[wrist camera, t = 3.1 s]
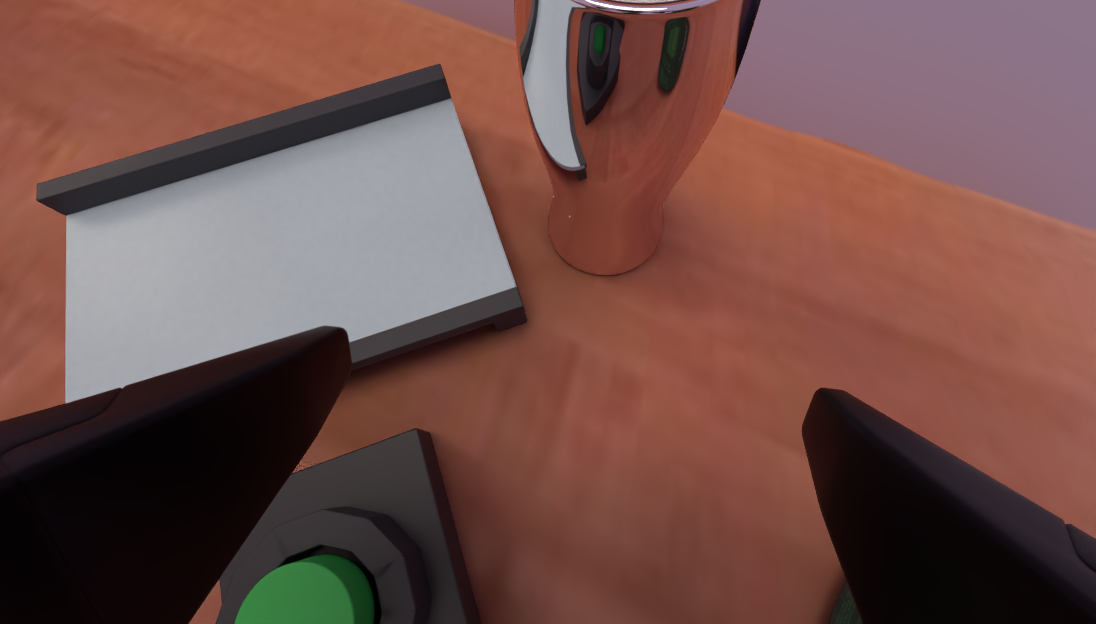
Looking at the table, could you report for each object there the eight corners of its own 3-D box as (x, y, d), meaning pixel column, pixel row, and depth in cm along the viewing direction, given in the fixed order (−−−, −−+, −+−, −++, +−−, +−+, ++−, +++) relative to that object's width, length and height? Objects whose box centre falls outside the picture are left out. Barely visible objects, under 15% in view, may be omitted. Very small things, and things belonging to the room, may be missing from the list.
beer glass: (591, 148, 27) (611, -208, 13) (695, 212, 26) (848, -117, 11) (513, 236, 26) (441, -64, 12) (619, 310, 24) (689, 67, 10)
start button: (387, 658, 16) (366, 678, 15) (273, 703, 16) (239, 729, 14) (362, 537, 18) (340, 543, 16) (256, 577, 17) (223, 587, 16)
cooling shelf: (529, 327, 24) (520, 294, 20) (129, 464, 23) (27, 460, 18) (459, 125, 28) (439, 62, 24) (120, 230, 27) (35, 183, 23)
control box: (502, 700, 19) (484, 755, 15) (279, 792, 18) (202, 874, 14) (429, 431, 22) (401, 422, 19) (241, 501, 22) (172, 506, 18)
